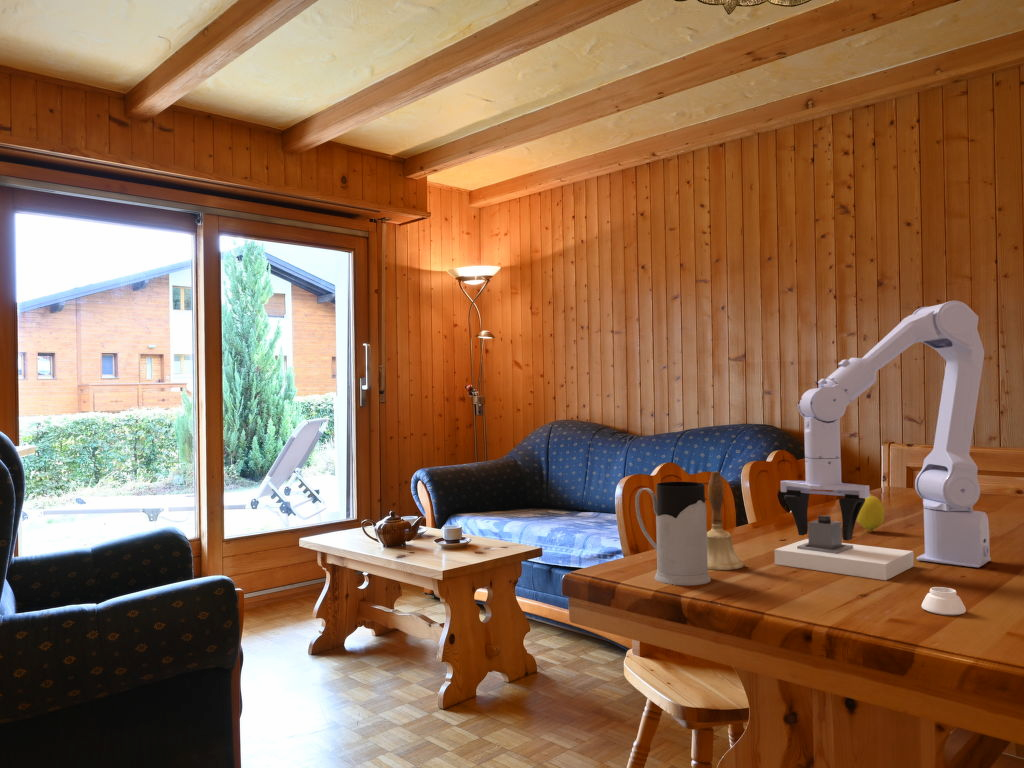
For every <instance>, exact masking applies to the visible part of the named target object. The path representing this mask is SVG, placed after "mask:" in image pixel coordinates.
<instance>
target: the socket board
mask: <svg viewBox="0 0 1024 768" xmlns="http://www.w3.org/2000/svg"><path fill="white" fill-rule="evenodd" d="M774 565H778V566H785V567H791V568H799V569H805V570H813V571H818V572H825V573H830V574H831V573H832V574H837V575H838V574H839V575H845V576H854V577H859V578H867V579H873V580H880V581H887V580H889V579H890V580H891V578H893V577H896V576H897V575H899V574H901V573H903V572H905V571H907V570H909V569H911V568H913V567H914V566H915V564H914V551H913V550H906V549H897V548H889V547H880V546H870V545H864V544H863V545H862V544H855V543H847V542H842V547H841V548H838V549H836V550H830V549H822V548H814V547H809V538H805V539H802V540H799V541H796V542H793V543H790V544H787V545H783V546H782V547H778V548H775V549H774Z"/></svg>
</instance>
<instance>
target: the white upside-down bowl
mask: <svg viewBox="0 0 1024 768" xmlns="http://www.w3.org/2000/svg"><path fill="white" fill-rule="evenodd" d="M921 608H922V609H923V610H925V611H927V612H929V613H933V614H935V615H943V616H959V615H962V614H965V613H966V611H967V609H966V606H965V605H964V603H963V601H962V599H961V597H960V596H959V595H957V590H956V589H954V588H950V587H943V586H933V587H930V589H929V592H927V594H926V595H925V597H924V599H923V601H922V603H921Z"/></svg>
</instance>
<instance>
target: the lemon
mask: <svg viewBox="0 0 1024 768" xmlns="http://www.w3.org/2000/svg"><path fill="white" fill-rule="evenodd" d="M884 520H885V508H884V504H883V502H882V500H880V499H879V498H878V497H877V496H875V495H873V494H872V493H870V497H868V498H865V503H864V504H863V506H862V508H861V510H860V512H859V514H858V517H857V519H856V522H857V523H858V524H859V525H860V526H861V527H862V528H864V529H866V530H867V531H868V532H869V533H872V532H874V530H875V529H878V528H879V527H881V526H882V524H883V523H884Z"/></svg>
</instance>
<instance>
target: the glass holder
mask: <svg viewBox="0 0 1024 768" xmlns="http://www.w3.org/2000/svg"><path fill="white" fill-rule="evenodd" d="M705 487H706V486H705V483H704V482H703V483H702V482H698V481H697V482H695V481H662V482H658V483H656V495H655V493H654V491H653V490H652V489H651V488H648V487H643V488H640V489H638V490H637V492H636V495H635V500H634V502H635V504H634V505H635V512H636V518H637V521H638V525H639V527H640V530H641V532H642V534H643V536H644V537H645V538H646V539H647V541H648V542H649V544H650V545H651V546H652V547H653V548H654V550H655V552H656V563H657V564H656V566H657V567H656V568H657V569H656V573H655V575H654V580H655V581H657V582H658V583H661V584H662V583H663V584H666V583H667V584H666V585H672V584H673V586H674V585H675V586H699V585H705V584H708V583H709V582H711V580H712V579H711V576H710V575H709V574H710V573H709V571H708V570H709V569H708V562H707V532H708V529H707V527H708V526H707V524H708V523H707V503H706V491H705V489H706V488H705ZM643 491H646V492H648V493H649V495H650V496H651V500H652V508H653V512H654V514H655V527H656V542H655V541H654V540H653V539H652V537H651V536H650V534H649V532H648V530H647V529H646V527H645V525H644V522H643V519H642V515H641V511H640V495H641V494H642V492H643Z"/></svg>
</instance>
